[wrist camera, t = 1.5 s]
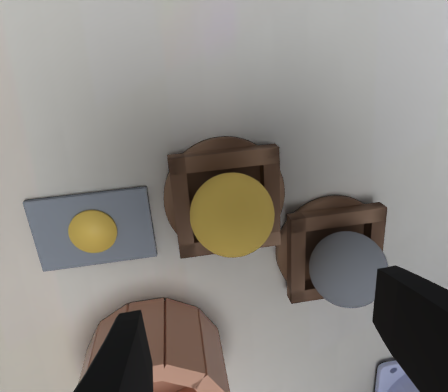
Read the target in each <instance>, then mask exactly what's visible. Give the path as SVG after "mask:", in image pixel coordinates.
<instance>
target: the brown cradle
mask: <svg viewBox="0 0 448 392" xmlns="http://www.w3.org/2000/svg"><path fill="white" fill-rule="evenodd" d="M386 215H387V207H386V206H384V205H383V204H381V203H380V202H376V203H368V204H363V203H362V202H360V201H358V200H356V199H354V198H351V197H347V196H340V195H333V196H325V197H321V198H318V199H315V200H313V201H311V202H308V203H307V204H305V205H303V206H302V207H300V208H299V209H298V210H296V211H295V212H294V213H290V214H287V221H286V223H285V224H284V226H283V227H282V229H281V231H280V235H281V245H276V260H277V264H278V266H279V269H280V271H281V273H282V275H283V276H284V278H285V279H286V281H287V296H288V298H289V300H290V302H291V304H293V303H299V302H305V301H312V300H318V299H325V298H323V297H322V296H321V295H320V294H319V293H318V291H317V290H316V289H315V287H314V285H313V283H312V281H311V278H310V273H309V261H310V257H311V254H312V252H313V250H314V248H315V247H316V245H317V244H318V243H319V242H320V241H321V240H322V239H323V238H325V237H326V236H328V235H330V234H333V233H336V232H341V231H352V232H357V233H360V234H363V235H365V236H367V237H369V238H370V239H371V240H373V241H374V242H375V243H376V244H377V245H378V246H379V247H380V248H381V250H382V251H383V244H384V234H385V225H386Z"/></svg>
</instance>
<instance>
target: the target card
mask: <svg viewBox="0 0 448 392" xmlns="http://www.w3.org/2000/svg"><path fill="white" fill-rule="evenodd" d="M23 205H24V209H25V212H26V215H27V219H28V222H29V226H30V229H31V232H32V236H33V239H34V242H35V246H36V249H37V252H38V256H39V259H40V263H41V266H42V269H43V272H44V271H51V270H59V269H66V268H74V267H81V266H88V265H96V264H103V263H110V262H118V261H125V260H133V259H140V258H147V257H155V256H157V251H156V244H155V238H154V232H153V225H152V219H151V213H150V206H149V200H148V194H147V187H146V186H145V187H136V188H128V189H119V190H110V191H101V192H93V193H84V194H75V195H66V196H58V197H49V198H40V199H31V200H25V201H24V202H23Z"/></svg>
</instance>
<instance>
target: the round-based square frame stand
mask: <svg viewBox="0 0 448 392" xmlns="http://www.w3.org/2000/svg"><path fill="white" fill-rule="evenodd" d="M167 156H168V166H169V173H168V176H167V179H166V182H165V187H164V207H165V212H166V216H167V218H168V221H169V223H170V225H171V226H172V228H173V229H174V231H175V232H176V233H177V235H178V243H179V250H180V258H189V257H196V256H203V255H210V254H214V253H212V252H211V251H209V250H208V249H206V248H205V247H204V246H203V245H202V244H201V243H200V242H199V241H198V239H197V238H196V236H195V234H194V232H193V230H192V227H191V223H190V207H191V203H192V200H193V198H194V195H195V194H196V192H197V190H198V189H199V188H200V187H201V186H202V185H203V184H204V183H205V182H206V181H207V180H209V179H211V178H212V177H214V176H217V175H220V174H223V173H241V174H245V175H248V176H250V177H252V178H254V179H255V180H257V181H258V182H259V183H260V184H262V185H263V186H264V188H265V189H266V190H267V191H268V193H269V195H270V197H271V199H272V202H273V206H274V212H275V217H274V224H273V228H272V231H271V233H270V235H269V237H268V238H267V240H266V241H265V242H264V244H263V245H262V246H261V247H269V246H276V245H281V235H280V214H281V211H282V208H283V204H284V197H285V188H284V181H283V177H282V175H281V172H280V160H279V147H278V146H277V145H276V144H266V145H256V144H254V143H252V142H250V141H248V140H245V139H242V138H237V137H229V136H224V137H215V138H210V139H207V140H203V141H201V142H199V143H197V144H195V145H193V146H192V147H190V148H189V149H187V150H186V151H185V152H184V153H180V154H171V155H167ZM261 247H260V248H261Z"/></svg>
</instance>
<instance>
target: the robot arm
mask: <svg viewBox="0 0 448 392" xmlns="http://www.w3.org/2000/svg"><path fill="white" fill-rule="evenodd" d="M373 323H374V325H375V327H376V329H377V331H378V332H379V334H380V336H381V338H382V340H383V341H384V343H385V345H386V346H387V348H388V350H389V351H390V353H391V354H392V356H393V357H394V358H395V361H389V362H384V363H381V364H380V365H379V366H378V369H377V378H376V386H375V392H448V290H447V289H445V288H443V287H441V286H439V285H437V284H435V283H433V282H431V281H429V280H427V279H424V278H422V277H420V276H418V275H416V274H414V273H412V272H410V271H407V270H405V269H403V268H400V267H398V266H391V267H385V268H379V269H377V278H376V289H375V299H374V310H373ZM73 392H153V363H152V358H151V354H150V349H149V344H148V340H147V335H146V330H145V326H144V321H143V316H142V312H141V310H136V311H130V312H125V313H119V315H118V316H117V317H116V319H115V321H114V323H113V325H112V327H111V329H110V331H109V332H108V334H107V336H106V338H105V340H104V342H103V344H102V345H101V347H100V349H99V351H98V353H97V354H96V356H95V358H94V359H93V361H92V363H91V364H90V366H89V368H88V369H87V371H86V373H85V374H84V376H83V378H82V379H81V381H80V382H79V384H78V385H77V387H76V388H75V390H74V391H73Z"/></svg>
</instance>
